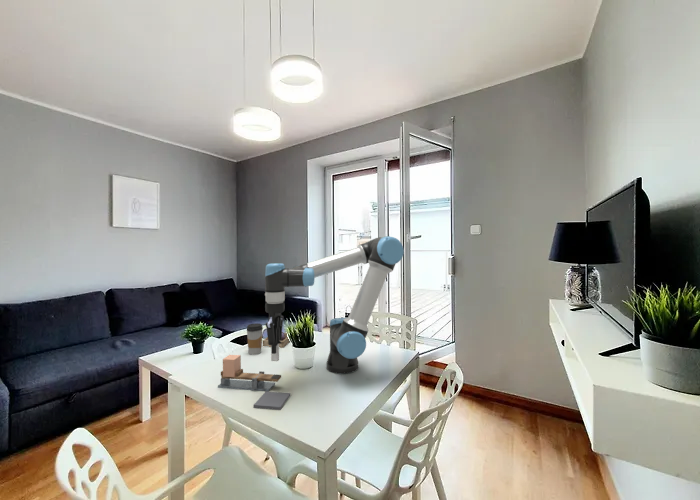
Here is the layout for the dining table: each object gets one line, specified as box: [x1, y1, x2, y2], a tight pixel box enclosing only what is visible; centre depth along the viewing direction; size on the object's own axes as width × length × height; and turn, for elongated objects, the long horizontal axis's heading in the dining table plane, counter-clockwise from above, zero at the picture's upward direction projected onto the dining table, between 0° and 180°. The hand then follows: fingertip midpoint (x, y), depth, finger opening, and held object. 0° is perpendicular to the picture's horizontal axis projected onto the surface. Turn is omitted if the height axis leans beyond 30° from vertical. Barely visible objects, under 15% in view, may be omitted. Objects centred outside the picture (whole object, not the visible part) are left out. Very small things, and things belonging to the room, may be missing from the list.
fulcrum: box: [217, 371, 276, 392], centre depth 120 cm, size 22×7×5 cm, turn 81°
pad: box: [253, 391, 292, 411], centre depth 108 cm, size 10×10×1 cm
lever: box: [220, 368, 282, 383], centre depth 120 cm, size 24×5×3 cm, turn 81°
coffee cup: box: [246, 322, 264, 356], centre depth 158 cm, size 8×8×15 cm
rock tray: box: [262, 332, 290, 349], centre depth 175 cm, size 12×16×4 cm
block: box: [222, 354, 242, 377], centre depth 121 cm, size 5×5×7 cm
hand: (275, 360), depth 118 cm, fingers closed
